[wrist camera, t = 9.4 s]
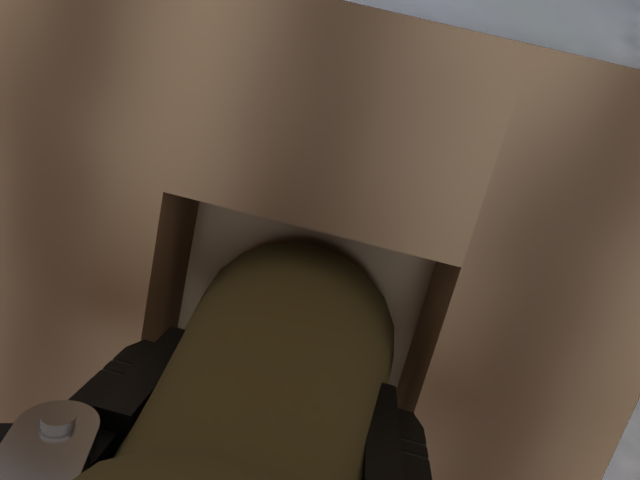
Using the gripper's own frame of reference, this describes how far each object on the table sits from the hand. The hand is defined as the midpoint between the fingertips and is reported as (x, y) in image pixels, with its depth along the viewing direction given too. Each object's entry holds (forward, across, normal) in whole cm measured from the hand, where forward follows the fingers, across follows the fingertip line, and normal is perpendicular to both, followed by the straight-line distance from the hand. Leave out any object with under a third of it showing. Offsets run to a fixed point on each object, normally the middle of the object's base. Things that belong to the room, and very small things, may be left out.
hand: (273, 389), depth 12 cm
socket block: (+5, 0, 0) cm, 5 cm away
